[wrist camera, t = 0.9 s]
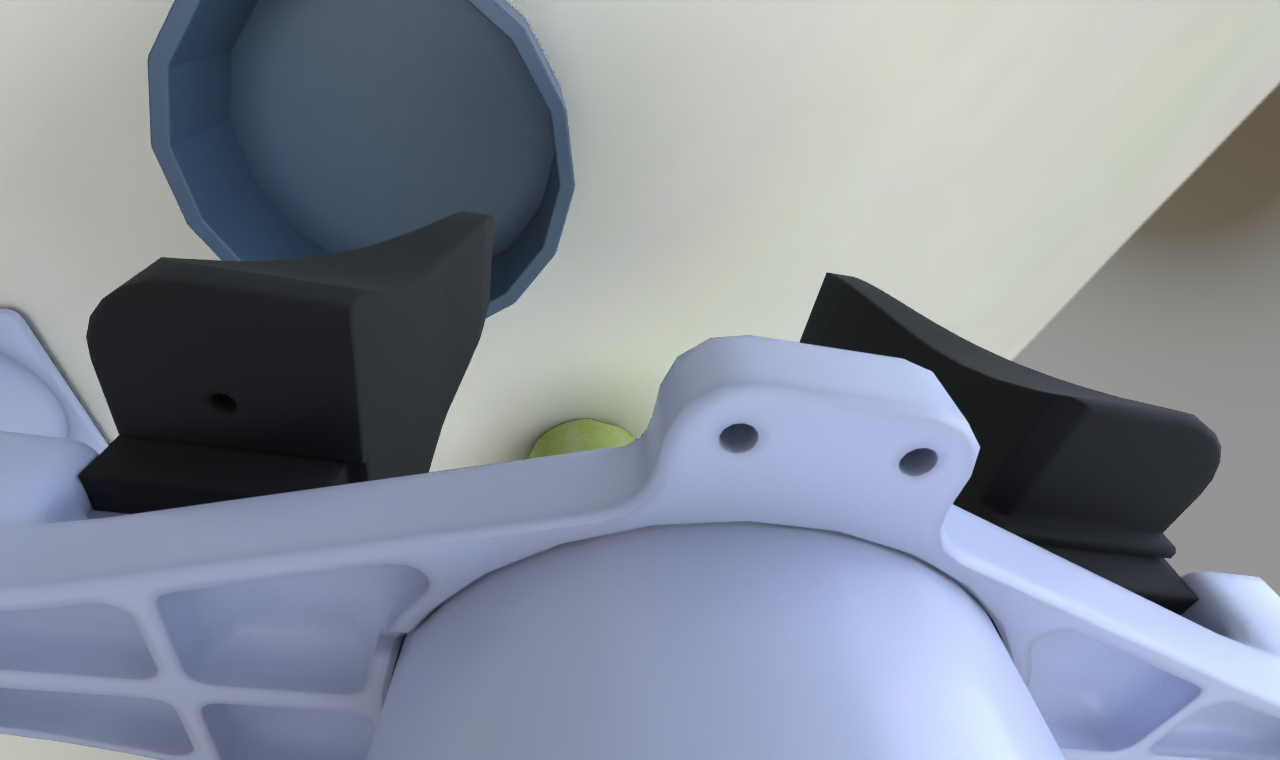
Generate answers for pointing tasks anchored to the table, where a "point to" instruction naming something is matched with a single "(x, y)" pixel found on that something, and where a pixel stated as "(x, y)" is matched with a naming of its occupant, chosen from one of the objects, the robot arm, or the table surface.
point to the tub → (360, 127)
